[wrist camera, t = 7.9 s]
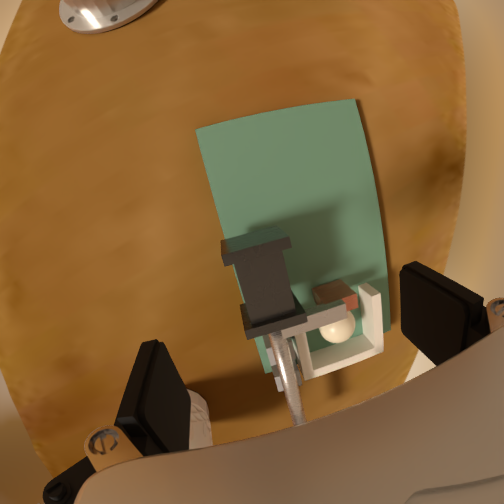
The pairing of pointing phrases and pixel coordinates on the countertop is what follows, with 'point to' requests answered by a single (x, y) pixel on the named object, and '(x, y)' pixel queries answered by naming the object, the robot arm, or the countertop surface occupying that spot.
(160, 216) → the countertop surface
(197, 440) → the white cup
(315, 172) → the board
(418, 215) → the countertop surface
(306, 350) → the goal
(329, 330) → the ball
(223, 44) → the countertop surface
